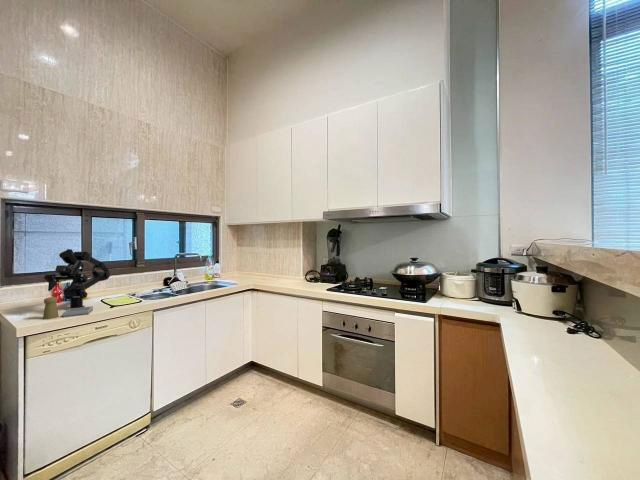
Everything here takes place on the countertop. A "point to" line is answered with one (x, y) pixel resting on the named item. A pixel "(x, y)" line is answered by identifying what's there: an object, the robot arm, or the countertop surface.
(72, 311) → the grey tray
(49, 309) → the cork
